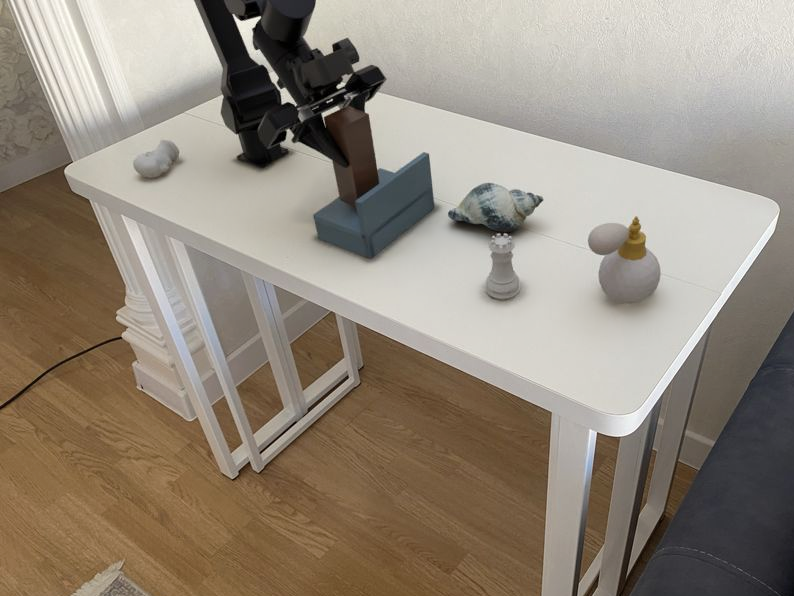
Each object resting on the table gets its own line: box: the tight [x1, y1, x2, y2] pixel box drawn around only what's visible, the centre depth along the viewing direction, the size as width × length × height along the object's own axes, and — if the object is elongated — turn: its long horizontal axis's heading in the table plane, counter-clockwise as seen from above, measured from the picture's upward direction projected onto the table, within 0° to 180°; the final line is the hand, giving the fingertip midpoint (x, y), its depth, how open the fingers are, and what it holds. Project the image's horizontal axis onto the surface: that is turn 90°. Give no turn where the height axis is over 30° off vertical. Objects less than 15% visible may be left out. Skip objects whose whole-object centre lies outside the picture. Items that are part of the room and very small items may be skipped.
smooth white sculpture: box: [132, 139, 180, 179], centre depth 121 cm, size 4×8×5 cm
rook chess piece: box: [485, 232, 521, 300], centre depth 91 cm, size 4×4×8 cm
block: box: [323, 106, 379, 208], centre depth 98 cm, size 4×4×12 cm
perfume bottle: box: [587, 216, 662, 305], centre depth 87 cm, size 8×10×12 cm
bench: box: [312, 151, 435, 260], centre depth 104 cm, size 10×15×9 cm, turn 145°
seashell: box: [447, 182, 544, 233], centre depth 103 cm, size 6×8×12 cm
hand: (359, 159), depth 97 cm, fingers closed on block, 4 cm apart
